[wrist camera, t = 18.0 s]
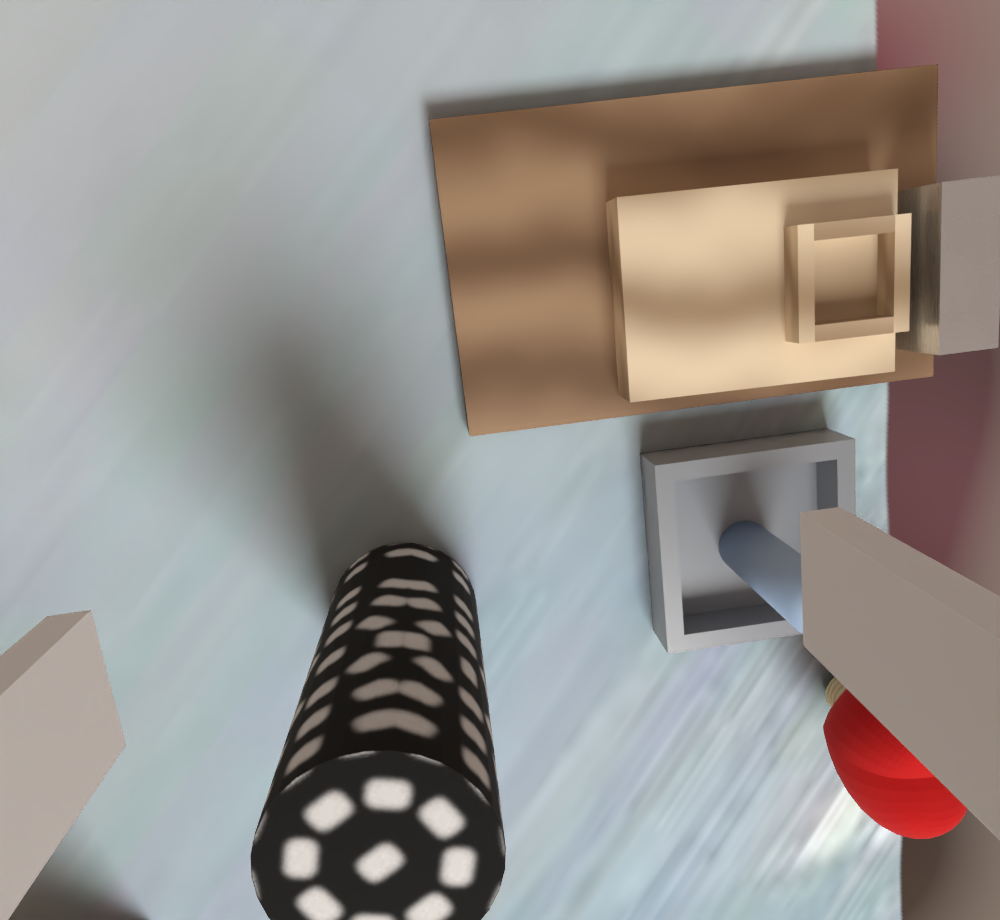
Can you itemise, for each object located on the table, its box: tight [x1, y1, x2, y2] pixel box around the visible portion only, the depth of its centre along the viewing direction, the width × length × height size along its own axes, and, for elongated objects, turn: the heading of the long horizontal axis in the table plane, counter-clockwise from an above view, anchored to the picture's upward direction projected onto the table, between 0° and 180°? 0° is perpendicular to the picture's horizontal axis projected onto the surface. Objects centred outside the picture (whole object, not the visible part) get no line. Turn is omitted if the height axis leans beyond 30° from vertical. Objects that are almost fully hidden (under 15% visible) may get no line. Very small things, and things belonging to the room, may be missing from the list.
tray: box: [640, 429, 856, 654], centre depth 44 cm, size 11×11×3 cm
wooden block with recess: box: [606, 169, 912, 402], centre depth 39 cm, size 10×14×4 cm
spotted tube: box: [251, 543, 506, 920], centre depth 35 cm, size 8×8×20 cm
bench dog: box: [895, 175, 1000, 355], centre depth 39 cm, size 8×3×5 cm, turn 7°
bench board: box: [429, 64, 938, 436], centre depth 41 cm, size 16×26×1 cm, turn 97°
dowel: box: [719, 521, 803, 634], centre depth 40 cm, size 3×3×9 cm
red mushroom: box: [823, 677, 967, 839], centre depth 43 cm, size 9×7×10 cm
